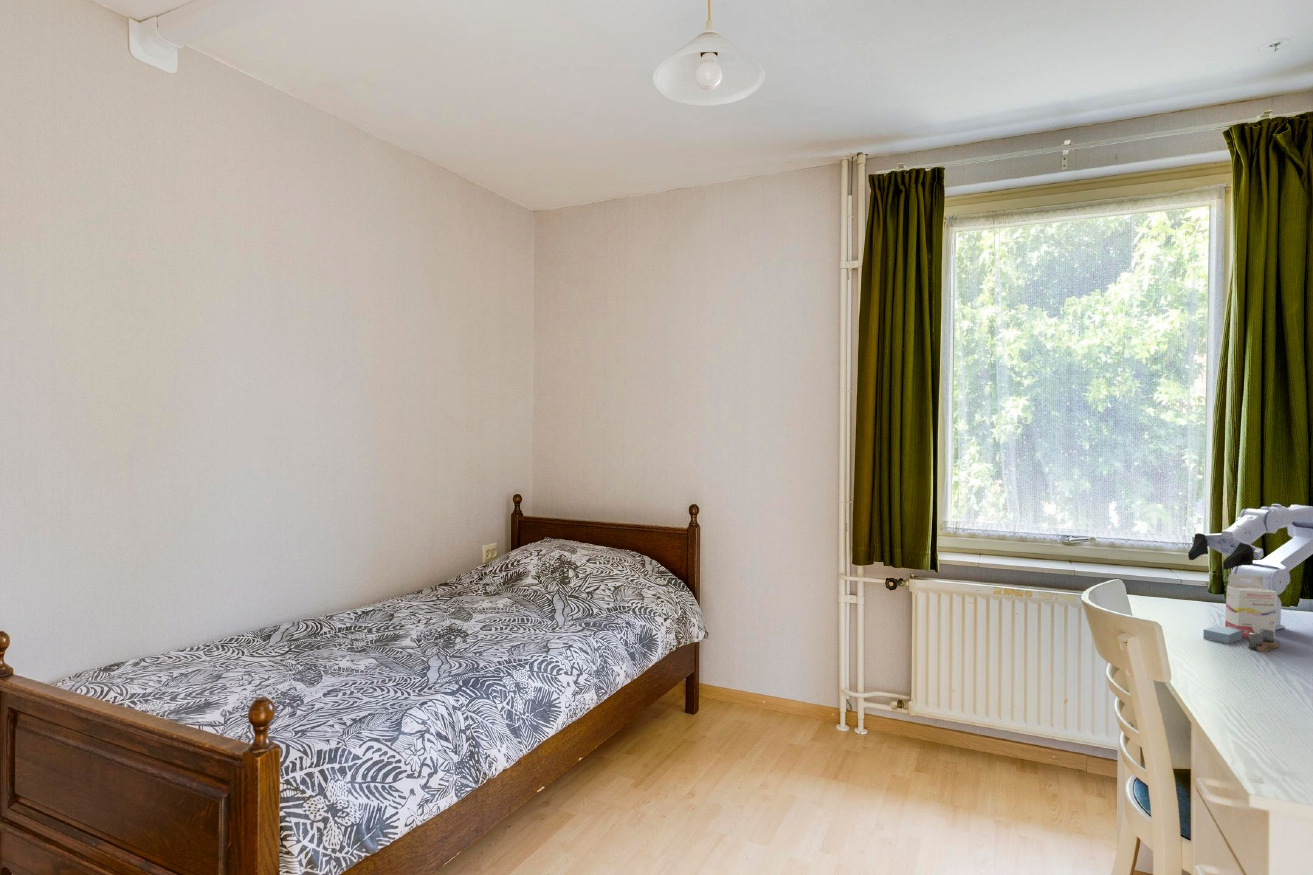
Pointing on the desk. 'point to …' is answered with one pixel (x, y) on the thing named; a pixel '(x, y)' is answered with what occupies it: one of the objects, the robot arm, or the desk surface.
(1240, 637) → the pale blue chamfered block
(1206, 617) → the desk surface
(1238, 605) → the ink cartridge box
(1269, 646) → the bench dogs
